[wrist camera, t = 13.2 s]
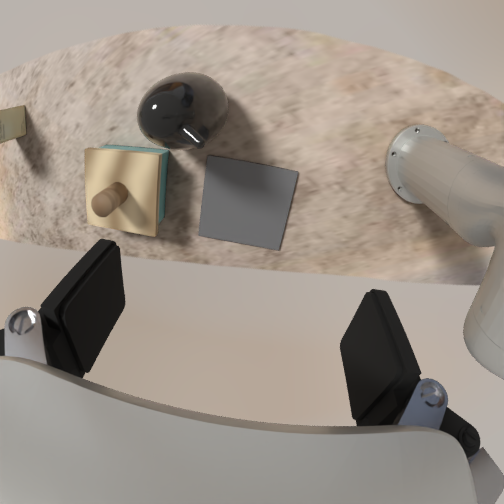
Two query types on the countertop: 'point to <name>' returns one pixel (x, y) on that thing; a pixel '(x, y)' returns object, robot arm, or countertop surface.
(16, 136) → the skincare box
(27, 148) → the countertop surface
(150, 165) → the lid
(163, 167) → the dish
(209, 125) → the pump dispenser
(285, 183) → the mat
